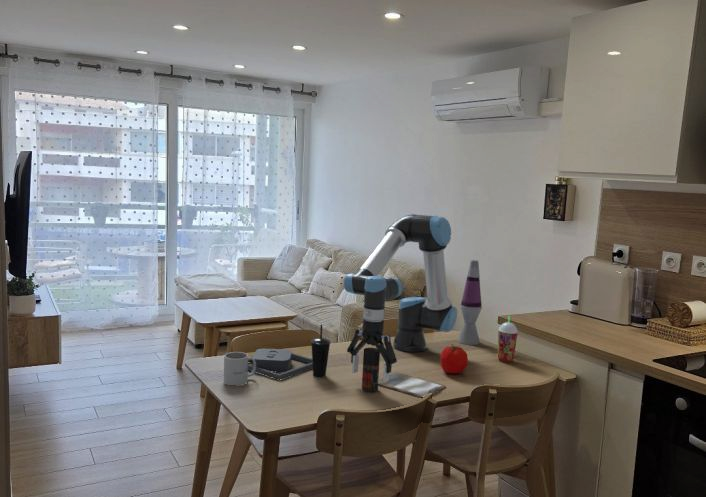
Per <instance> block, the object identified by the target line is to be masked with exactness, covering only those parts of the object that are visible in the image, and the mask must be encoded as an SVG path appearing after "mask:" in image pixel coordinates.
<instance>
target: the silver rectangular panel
mask: <svg viewBox="0 0 706 497" xmlns="http://www.w3.org/2000/svg"><path fill="white" fill-rule="evenodd" d="M378 387H383V388H387V389H389V390H393V391H397V392H400V393H403V394H405V395H410V396H413V397H417V398H419V397H422V396H424V395H426V394H429V393H432V394H433V393H435V392H436V393H438V392H440V391H442V390H443V389H445V388H446V387H447V386H446V385H445V384H441V383H438V382H435V381H430V380H427V379H423V378H419V377H415V376H412V375H410V374H405V373H401V372H398V371H395V372H393V373H391V374H390V373H389V381H387V382H383V377H382V378H380V379H378ZM441 389H442V390H441ZM439 390H440V391H439ZM437 391H438V392H437ZM436 393H435V394H436ZM433 395H434V394H433Z"/></svg>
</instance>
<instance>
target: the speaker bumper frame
mask: <svg viewBox="0 0 706 497" xmlns="http://www.w3.org/2000/svg"><path fill="white" fill-rule="evenodd" d="M250 357H252V358H253V355H252V356H250ZM292 358H293V359H292V360H295V359H296V360H295V361H298V360H299V361H298V362H301V363H306V364H304V365H302V366H299V367H298V366H297V367H295V368H293V369H289V371H287V372H283V373H281V372H280V373H278V372H271V371H268V370H265V369H262V368H259V367H256V370H255V372H258V373H261V374H264V375H267V376H269V377H268V378H270V377H273V378H275V379H274V380H276V379H279V380H280V379H282V380H284V379H283V378H285V379H287V378H286V377H288V378H290V377H293V376H296V375H298V373H299V374H301V373H304V372H306V370H307V371H309V370H311V369H312V370H313V363H312V358H311V357H308V356H307V357H306V356H304V355H300V354H297V353H293V352H292ZM251 361H252V360H248V362H251ZM251 363H252V362H251ZM308 363H309V364H308ZM249 370H253V365H252V364H250V363H248V371H249ZM258 373H257V374H258ZM261 374H260V375H261ZM295 374H296V375H295ZM264 375H263V376H264ZM292 375H293V376H292ZM267 376H266V377H267ZM289 376H290V377H289ZM273 378H272V379H273ZM279 380H278V381H279ZM280 381H281V380H280Z"/></svg>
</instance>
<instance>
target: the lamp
mask: <svg viewBox="0 0 706 497" xmlns="http://www.w3.org/2000/svg"><path fill="white" fill-rule="evenodd" d="M480 277H481V276H480V266H479V260H477V259H471V260H470V262H469V266H468V272H467V274H466V280H465V284H464V289H463V294H462V298H461V303H460V309H461V315H462V318H463V322H464V323H463V326H462V328H461V330H460V332H459V335H458V337H457V342H458V343H459V344H463V345H466V346H467V345H468V346H477V345H479V344H480V342H481V341H480V338H479V333H478V330H477V324H476V323H477V320H478V318H479V316H480V314H481V312H482V309H483V307H482V294H481V282H480V281H481V279H480Z"/></svg>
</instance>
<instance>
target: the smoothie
mask: <svg viewBox="0 0 706 497" xmlns="http://www.w3.org/2000/svg"><path fill="white" fill-rule="evenodd" d="M510 318H511V316H510V315H508V317H507V321H506V322H503V323H502V324H501V325H500V326H499V328H497V331H498V332H497V358H498V361H499V362H501V363H506V364H507V363H512V362H513V360H514V359H515V354H516V353H515V352H516V346H517V339H518V333H519V331H518V328H517V326H516V325H515V324H514V323H512V322H510V321H511V320H510Z"/></svg>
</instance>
